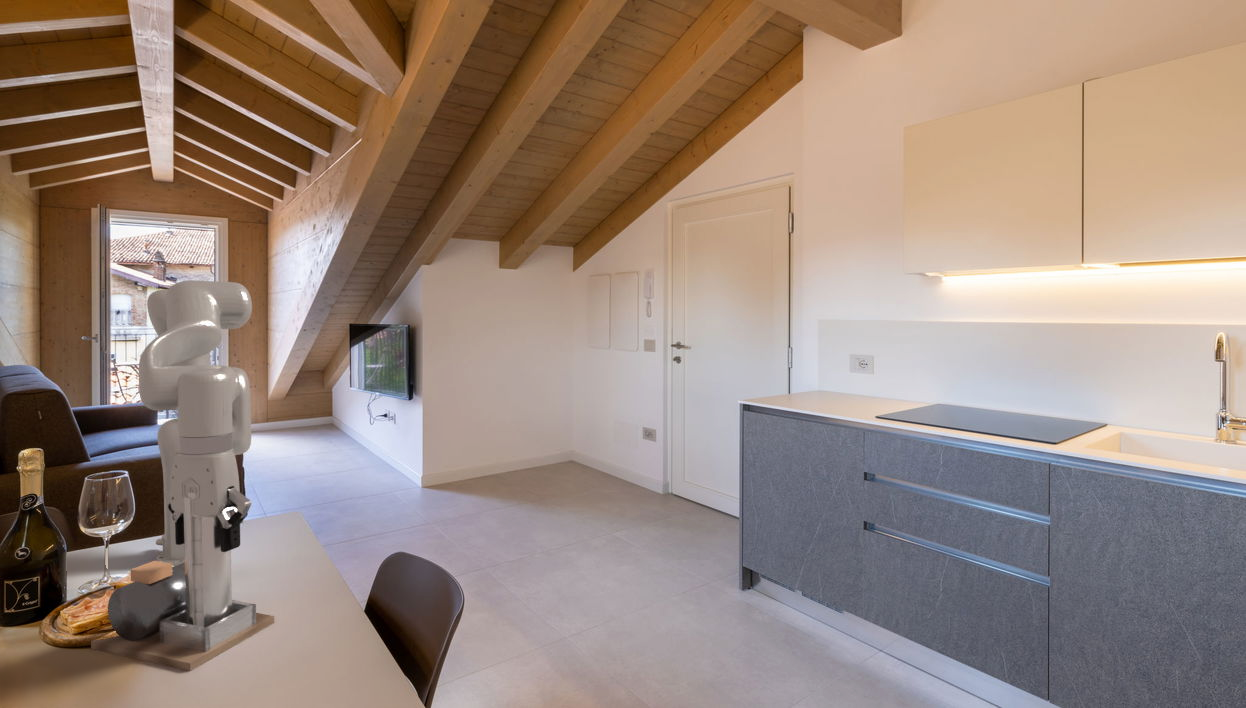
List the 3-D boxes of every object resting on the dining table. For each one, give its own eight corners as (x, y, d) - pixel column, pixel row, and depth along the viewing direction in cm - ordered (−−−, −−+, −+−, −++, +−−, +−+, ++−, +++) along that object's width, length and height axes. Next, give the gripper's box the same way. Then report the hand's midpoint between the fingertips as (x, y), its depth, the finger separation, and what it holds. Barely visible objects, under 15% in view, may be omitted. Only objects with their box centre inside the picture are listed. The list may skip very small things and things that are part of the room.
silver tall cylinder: (240, 627, 107) (238, 484, 106) (201, 645, 101) (198, 494, 100) (217, 619, 110) (214, 479, 108) (177, 636, 104) (174, 489, 102)
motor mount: (91, 648, 102) (89, 576, 101) (184, 605, 117) (182, 542, 117) (190, 670, 96) (188, 594, 96) (274, 622, 112) (273, 556, 111)
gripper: (144, 444, 102) (146, 547, 103) (227, 453, 97) (229, 560, 99) (187, 436, 109) (189, 532, 110) (266, 444, 105) (268, 544, 106)
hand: (208, 545), depth 104 cm, fingers open, 9 cm apart
